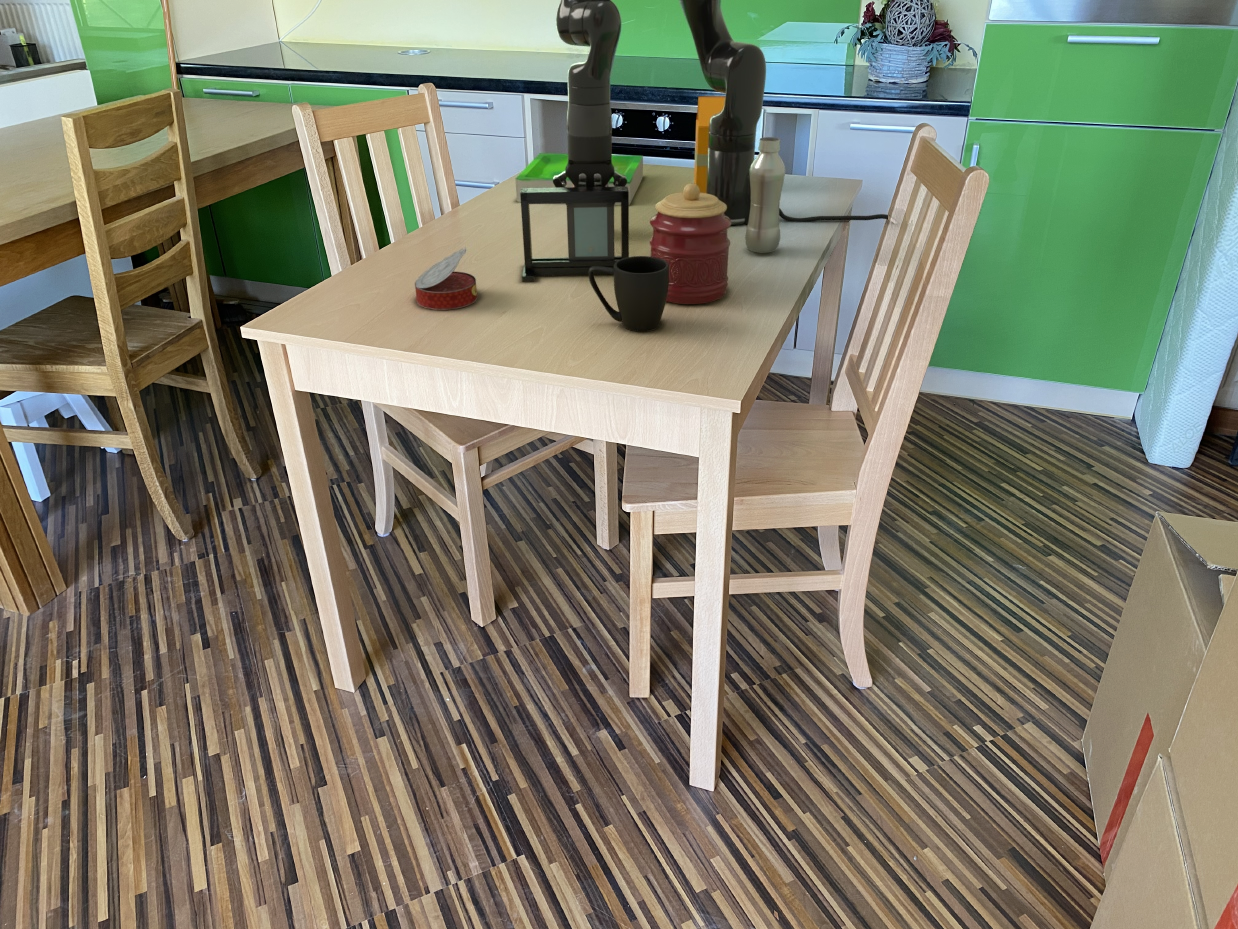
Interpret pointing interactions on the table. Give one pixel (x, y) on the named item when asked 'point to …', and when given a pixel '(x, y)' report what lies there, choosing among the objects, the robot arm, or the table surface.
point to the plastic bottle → (765, 197)
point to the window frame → (561, 196)
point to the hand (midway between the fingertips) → (590, 231)
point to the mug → (636, 291)
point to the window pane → (590, 231)
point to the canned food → (446, 285)
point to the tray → (555, 164)
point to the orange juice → (704, 136)
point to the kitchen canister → (692, 245)
